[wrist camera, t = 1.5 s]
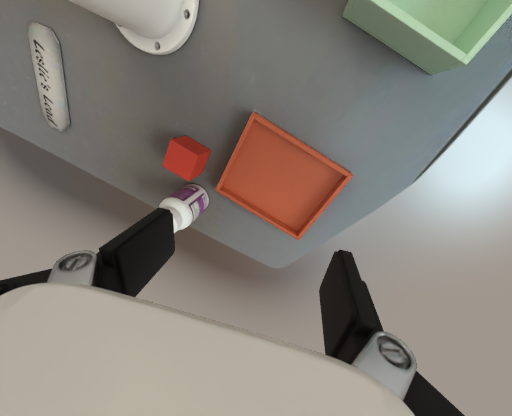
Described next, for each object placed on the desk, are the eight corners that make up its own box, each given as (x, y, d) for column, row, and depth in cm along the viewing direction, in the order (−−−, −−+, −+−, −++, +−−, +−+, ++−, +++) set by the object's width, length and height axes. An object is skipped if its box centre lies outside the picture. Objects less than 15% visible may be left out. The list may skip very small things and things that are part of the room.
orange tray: (219, 186, 35) (214, 190, 33) (255, 112, 28) (252, 112, 27) (298, 234, 35) (298, 240, 34) (350, 171, 29) (353, 175, 27)
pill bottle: (177, 197, 37) (140, 222, 29) (191, 177, 35) (155, 198, 26) (200, 215, 38) (170, 245, 30) (215, 197, 36) (187, 224, 27)
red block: (178, 159, 34) (162, 166, 30) (186, 135, 32) (170, 138, 28) (201, 173, 34) (188, 181, 30) (211, 150, 32) (198, 155, 28)
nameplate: (46, 123, 36) (71, 133, 36) (44, 124, 36) (69, 133, 36) (27, 19, 29) (58, 30, 29) (24, 18, 29) (55, 29, 29)
